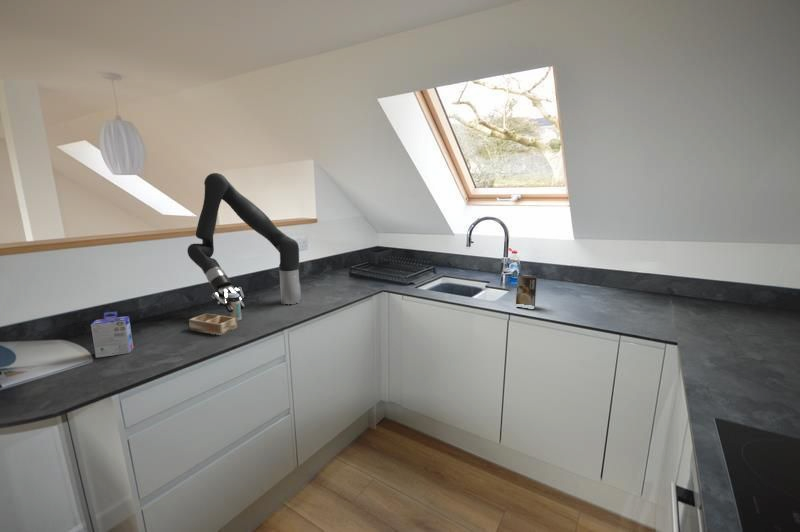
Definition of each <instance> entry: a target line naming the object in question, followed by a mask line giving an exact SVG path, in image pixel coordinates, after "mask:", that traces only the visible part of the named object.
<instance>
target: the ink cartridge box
mask: <svg viewBox="0 0 800 532" xmlns="http://www.w3.org/2000/svg"><path fill="white" fill-rule="evenodd" d="M108 315H110V316H108ZM90 328H91V335H92V340H93V347H94V353H95V358H104V357H111V356H116V355H117V356H118V355H126V354H130V353H131V352H132V351H133V349H134V342H133V335H132V329H131V322H130V317H129V315H128V316H126V315H125V316H118V311H117V310H116V311H109V312H108V311H106V312H103V318H102V319H95V320H94V321H93V322H92V323H91V324H90Z"/></svg>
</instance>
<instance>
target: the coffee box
mask: <svg viewBox="0 0 800 532" xmlns="http://www.w3.org/2000/svg"><path fill="white" fill-rule="evenodd" d="M516 277H517V278H516V280H517V281H516V293H515V305H516V304H524V305H532V306H535V307H536V296H537V295H536V294H537V282H538V281H537V275H535V274H534V275H532V274H520V273H519V274H517V276H516Z"/></svg>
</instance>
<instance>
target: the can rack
mask: <svg viewBox="0 0 800 532" xmlns="http://www.w3.org/2000/svg"><path fill="white" fill-rule="evenodd" d="M188 322H189V323H188V325H189V330H190V331H194V332H199V333H204V334H209V333H210V335H215V334H216V335H217V336H220V335H221V336H223V335H222V334H224V335H226V334H228V333H230V332H232V331H234V330H233V329H235V330H237V329H238V321H237V318H234V317H229V315H228V316H227V315H221V314H213V313H208V312H206V313H203V314H200V315H198V316H197V315H196V316H195V317H192V318H190V319H188ZM236 328H237V329H236ZM231 330H232V331H231ZM229 331H230V332H229ZM227 332H228V333H227ZM225 333H226V334H225Z"/></svg>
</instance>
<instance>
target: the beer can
mask: <svg viewBox="0 0 800 532" xmlns="http://www.w3.org/2000/svg"><path fill="white" fill-rule="evenodd" d="M228 303H230V305H231V307H232V308H233V312H231V313H230V312H228V317H234V318H237V322H239V321H241V320H242V319H243V318H242V309H241V305H240V295H239V294H238V293H230V294H229V295H228Z"/></svg>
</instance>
